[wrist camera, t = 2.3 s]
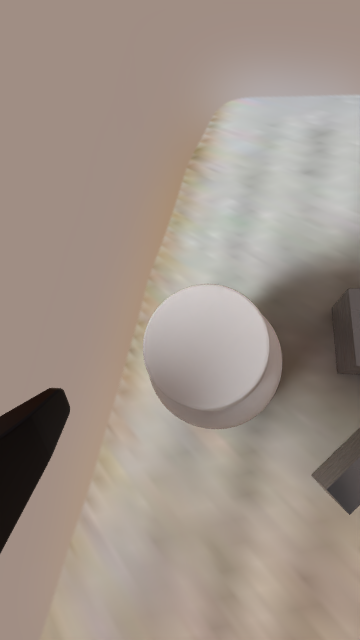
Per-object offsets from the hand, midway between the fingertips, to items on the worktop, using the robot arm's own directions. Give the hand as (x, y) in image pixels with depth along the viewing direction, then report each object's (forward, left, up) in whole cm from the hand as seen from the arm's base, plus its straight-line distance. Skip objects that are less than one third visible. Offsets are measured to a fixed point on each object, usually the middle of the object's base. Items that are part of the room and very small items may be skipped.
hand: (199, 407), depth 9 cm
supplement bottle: (+2, 0, -10) cm, 10 cm away
